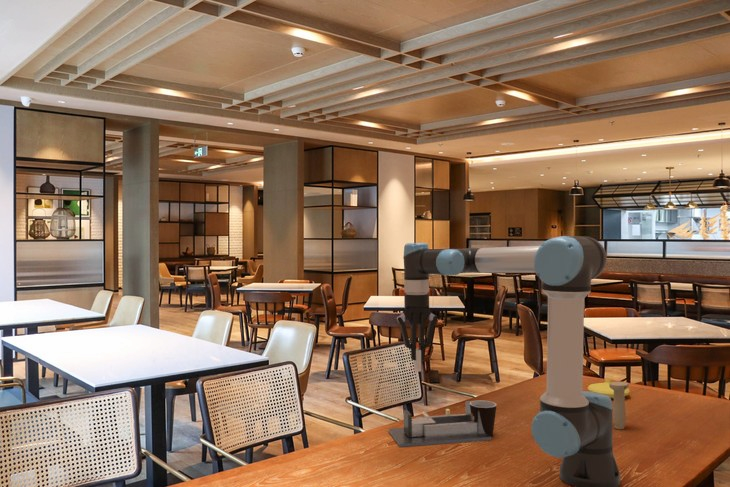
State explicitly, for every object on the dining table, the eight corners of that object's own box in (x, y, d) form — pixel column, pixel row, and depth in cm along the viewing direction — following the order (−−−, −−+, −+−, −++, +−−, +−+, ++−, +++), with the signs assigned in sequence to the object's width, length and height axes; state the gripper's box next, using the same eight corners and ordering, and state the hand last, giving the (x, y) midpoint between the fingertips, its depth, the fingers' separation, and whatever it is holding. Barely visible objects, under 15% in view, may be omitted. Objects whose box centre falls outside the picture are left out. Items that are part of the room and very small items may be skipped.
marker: (450, 424, 210) (450, 410, 209) (447, 424, 209) (447, 410, 209) (448, 422, 211) (448, 408, 211) (445, 423, 211) (445, 409, 211)
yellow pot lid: (632, 394, 251) (632, 377, 251) (625, 403, 238) (625, 385, 238) (592, 389, 259) (592, 373, 259) (583, 398, 246) (583, 380, 246)
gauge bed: (491, 440, 197) (490, 411, 197) (399, 447, 192) (399, 418, 192) (473, 425, 213) (473, 399, 213) (388, 431, 208) (388, 404, 207)
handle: (606, 428, 208) (606, 383, 208) (619, 425, 211) (619, 381, 211) (618, 431, 203) (618, 386, 203) (632, 428, 206) (631, 383, 206)
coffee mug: (495, 439, 197) (495, 408, 197) (468, 437, 199) (468, 406, 199) (498, 428, 208) (498, 399, 208) (472, 426, 211) (472, 397, 210)
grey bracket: (436, 434, 199) (435, 413, 199) (408, 437, 197) (408, 415, 197) (426, 424, 210) (426, 404, 210) (400, 426, 208) (399, 406, 208)
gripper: (433, 291, 193) (434, 367, 193) (393, 293, 191) (394, 369, 191) (440, 293, 186) (442, 372, 186) (398, 295, 183) (399, 374, 184)
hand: (417, 370), depth 188 cm, fingers closed
